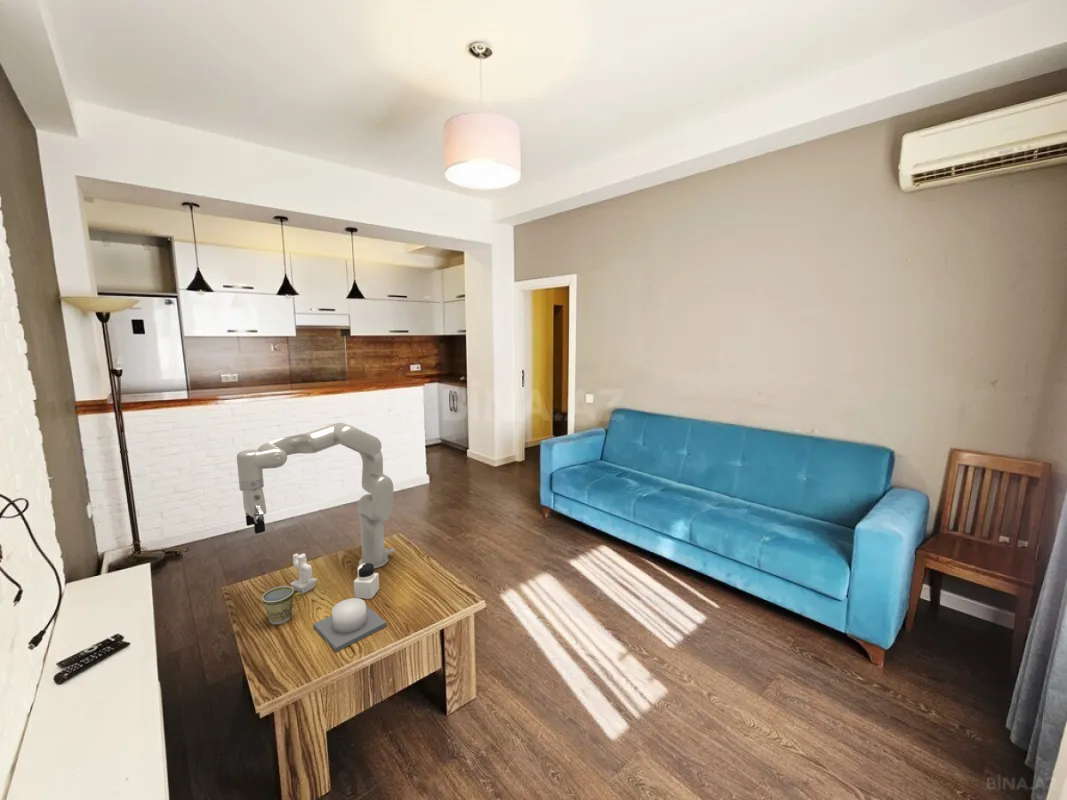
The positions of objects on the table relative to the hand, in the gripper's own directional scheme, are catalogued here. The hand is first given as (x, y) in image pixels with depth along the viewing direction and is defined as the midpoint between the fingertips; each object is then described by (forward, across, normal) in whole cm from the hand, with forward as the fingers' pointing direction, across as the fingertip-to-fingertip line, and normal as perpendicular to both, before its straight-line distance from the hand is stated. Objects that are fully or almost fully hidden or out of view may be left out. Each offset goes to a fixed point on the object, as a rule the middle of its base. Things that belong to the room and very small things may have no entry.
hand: (255, 528), depth 167 cm
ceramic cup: (+31, -14, -3) cm, 35 cm away
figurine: (+31, 0, -15) cm, 35 cm away
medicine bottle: (+31, -21, -31) cm, 49 cm away
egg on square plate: (+31, -36, -17) cm, 51 cm away
